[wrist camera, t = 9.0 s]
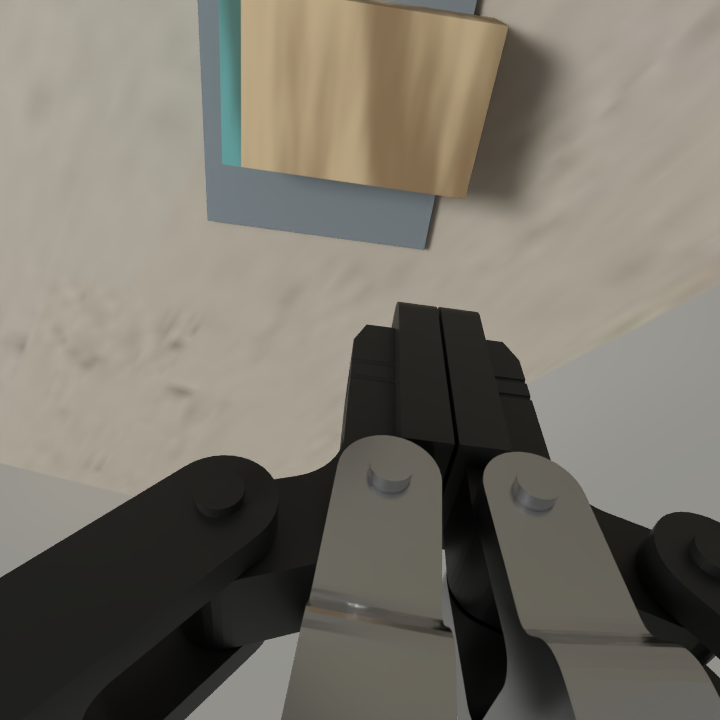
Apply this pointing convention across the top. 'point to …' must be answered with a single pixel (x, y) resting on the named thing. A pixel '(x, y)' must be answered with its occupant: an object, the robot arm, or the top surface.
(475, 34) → the block
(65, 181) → the top surface
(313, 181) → the mat
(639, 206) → the top surface
